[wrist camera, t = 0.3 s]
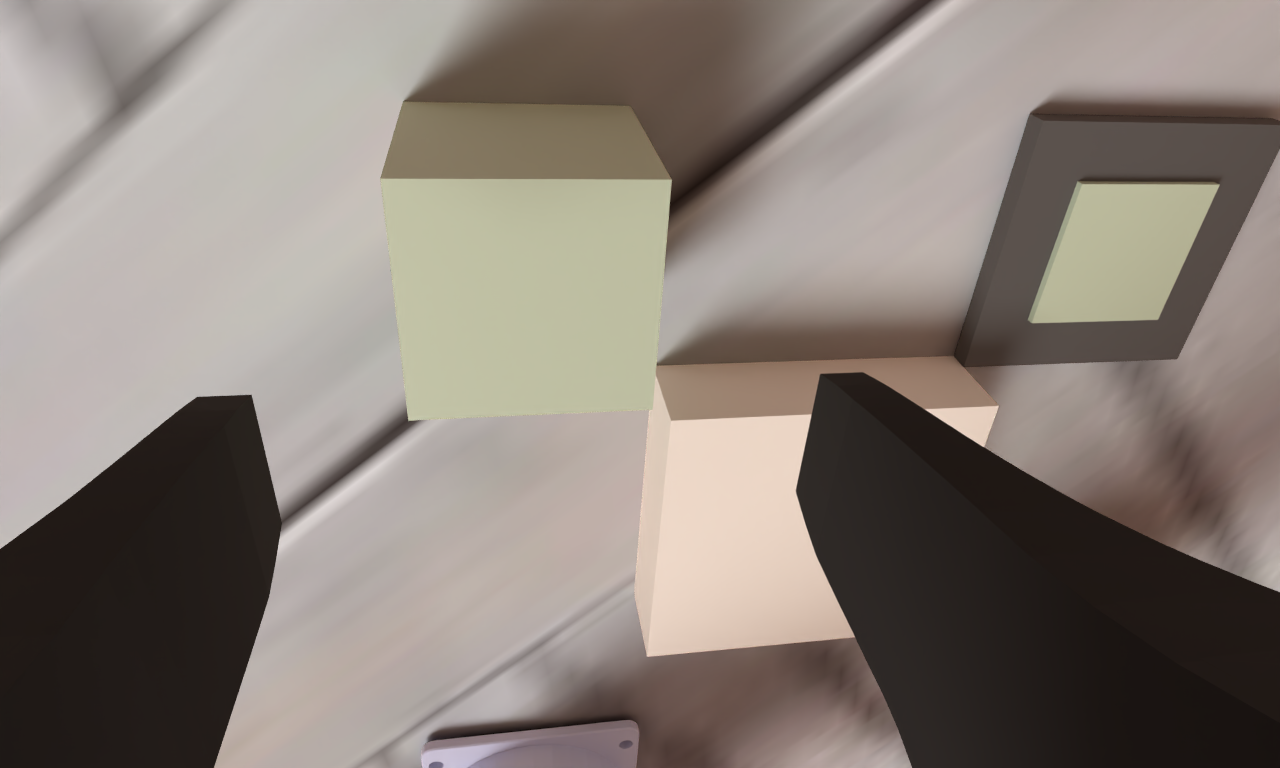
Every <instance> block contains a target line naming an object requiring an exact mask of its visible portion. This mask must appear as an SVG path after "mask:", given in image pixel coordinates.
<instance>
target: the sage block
mask: <svg viewBox="0 0 1280 768" xmlns="http://www.w3.org/2000/svg"><path fill="white" fill-rule="evenodd" d="M380 180H381V189H382V197H383V206H384V215H385V223H386V232H387V240H388V249H389V258H390V266H391V275H392V283H393V292H394V301H395V309H396V318H397V326H398V335H399V343H400V352H401V361H402V369H403V378H404V386H405V395H406V404H407V412H408V420H431V419H453V418H476V417H498V416H521V415H544V414H566V413H589V412H612V411H634V410H653V400H654V388H655V376H656V364H657V352H658V339H659V327H660V315H661V303H662V291H663V279H664V267H665V255H666V243H667V231H668V219H669V207H670V195H671V183H672V179H671V177H670V176H669V174H668V172H667V170H666V168H665V167H664V165H663V163H662V161H661V160H660V158H659V156H658V154H657V152H656V151H655V149H654V147H653V145H652V144H651V142H650V140H649V138H648V136H647V135H646V133H645V131H644V129H643V128H642V126H641V124H640V122H639V120H638V119H637V117H636V115H635V113H634V112H633V110H632V108H631V106H618V105H565V104H512V103H459V102H406V101H403V104H402V107H401V110H400V114H399V117H398V121H397V124H396V127H395V131H394V134H393V137H392V141H391V144H390V148H389V151H388V154H387V158H386V161H385V165H384V168H383V171H382V175H381V178H380Z"/></svg>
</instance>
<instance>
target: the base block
mask: <svg viewBox="0 0 1280 768" xmlns="http://www.w3.org/2000/svg"><path fill="white" fill-rule="evenodd" d="M854 372H863V373H865V374H867V375H869V376H871V377H873V378H875V379H877V380H878V381H880V382H882V383H884V384H885V385H887V386H889V387H890V388H892V389H894V390H895V391H897V392H898V393H900V394H901V395H903V396H905V397H906V398H908V399H909V400H911V401H913V402H914V403H916V404H917V405H919V406H920V407H922V408H923V409H925V410H926V411H928V412H930V413H931V414H933V415H934V416H936V417H937V418H939V419H940V420H942V421H943V422H945V423H947V424H948V425H950V426H951V427H953V428H954V429H956V430H957V431H959V432H961V433H962V434H964V435H965V436H967V437H968V438H970V439H972V440H973V441H975V442H976V443H978V444H979V445H981V446H983V447H984V446H985V443H986V441H987V438H988V435H989V432H990V430H991V427H992V424H993V421H994V419H995V416H996V413H997V410H998V408H999V405H998V404H997V403H996V402H995V401H994V400H993V399H992V398H991V396H990V395H989V394H988V393H987V392H986V391H985V390H984V389H983V388H982V387H981V386H980V384H979V383H978V382H977V381H976V380H975V379H974V378H973V377H972V376H971V375H970V374H969V373H968V371H967V370H966V369H965V368H964V367H963V366H962V365H961V364H960V363H959V362H958V361H957V359H956V358H955V357H954V356H936V357H905V358H875V359H844V360H813V361H783V362H752V363H722V364H691V365H660V366H656V376H655V388H654V400H653V410H649V419H648V431H647V443H646V455H645V467H644V480H643V492H642V504H641V516H640V528H639V540H638V552H637V564H636V577H635V589H634V595H635V600H636V605H637V610H638V615H639V620H640V625H641V630H642V635H643V639H644V644H645V649H646V654H647V657H651V656H662V655H672V654H683V653H694V652H704V651H715V650H725V649H736V648H747V647H757V646H768V645H778V644H789V643H800V642H810V641H821V640H831V639H842V638H853V637H855V636H854V634H853V632H852V630H851V628H850V626H849V624H848V622H847V620H846V617H845V615H844V613H843V611H842V609H841V607H840V605H839V603H838V601H837V599H836V597H835V595H834V593H833V591H832V588H831V586H830V584H829V582H828V580H827V578H826V576H825V574H824V572H823V569H822V567H821V565H820V563H819V561H818V559H817V556H816V554H815V551H814V548H813V545H812V542H811V539H810V536H809V533H808V530H807V528H806V524H805V521H804V518H803V514H802V511H801V508H800V504H799V501H798V498H797V495H796V486H797V482H798V477H799V472H800V467H801V463H802V458H803V453H804V448H805V444H806V439H807V434H808V429H809V424H810V420H811V415H812V410H813V405H814V401H815V396H816V391H817V386H818V382H819V377H820V374H827V373H854Z"/></svg>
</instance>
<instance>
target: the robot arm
mask: <svg viewBox="0 0 1280 768" xmlns="http://www.w3.org/2000/svg"><path fill="white" fill-rule="evenodd" d="M796 495H797V498H798V501H799V504H800V508H801V511H802V514H803V518H804V521H805V524H806V528H807V530H808V533H809V536H810V539H811V542H812V545H813V548H814V551H815V554H816V556H817V559H818V561H819V563H820V565H821V567H822V569H823V572H824V574H825V576H826V578H827V580H828V582H829V584H830V586H831V588H832V591H833V593H834V595H835V597H836V599H837V601H838V603H839V605H840V607H841V609H842V611H843V613H844V615H845V617H846V620H847V622H848V624H849V626H850V628H851V630H852V632H853V634H854V636H855V638H856V640H857V642H858V644H859V646H860V648H861V650H862V652H863V654H864V656H865V658H866V660H867V663H868V665H869V667H870V669H871V671H872V673H873V675H874V677H875V679H876V681H877V683H878V685H879V687H880V689H881V691H882V693H883V695H884V698H885V700H886V702H887V704H888V707H889V709H890V711H891V714H892V716H893V718H894V721H895V723H896V725H897V727H898V730H899V733H900V735H901V738H902V741H903V744H904V746H905V749H906V752H907V755H908V757H909V760H910V763H911V766H912V768H1280V592H1278V591H1275V590H1272V589H1270V588H1267V587H1264V586H1262V585H1259V584H1257V583H1254V582H1252V581H1249V580H1247V579H1244V578H1242V577H1240V576H1237V575H1235V574H1232V573H1230V572H1227V571H1225V570H1222V569H1220V568H1218V567H1215V566H1213V565H1210V564H1208V563H1205V562H1203V561H1200V560H1198V559H1196V558H1193V557H1191V556H1189V555H1186V554H1184V553H1182V552H1180V551H1177V550H1175V549H1173V548H1171V547H1168V546H1166V545H1164V544H1162V543H1159V542H1157V541H1155V540H1153V539H1151V538H1149V537H1147V536H1145V535H1143V534H1141V533H1139V532H1137V531H1135V530H1133V529H1130V528H1128V527H1126V526H1124V525H1122V524H1120V523H1118V522H1116V521H1114V520H1112V519H1110V518H1108V517H1106V516H1104V515H1102V514H1100V513H1098V512H1096V511H1094V510H1092V509H1090V508H1088V507H1086V506H1084V505H1082V504H1081V503H1079V502H1077V501H1075V500H1073V499H1071V498H1069V497H1068V496H1066V495H1064V494H1062V493H1061V492H1059V491H1057V490H1055V489H1053V488H1052V487H1050V486H1048V485H1046V484H1045V483H1043V482H1041V481H1039V480H1038V479H1036V478H1034V477H1032V476H1031V475H1029V474H1027V473H1025V472H1024V471H1022V470H1020V469H1019V468H1017V467H1015V466H1014V465H1012V464H1010V463H1009V462H1007V461H1005V460H1004V459H1002V458H1000V457H999V456H997V455H995V454H994V453H992V452H991V451H989V450H987V449H986V448H984V447H983V446H981V445H979V444H978V443H976V442H975V441H973V440H972V439H970V438H968V437H967V436H965V435H964V434H962V433H961V432H959V431H957V430H956V429H954V428H953V427H951V426H950V425H948V424H947V423H945V422H943V421H942V420H940V419H939V418H937V417H936V416H934V415H933V414H931V413H930V412H928V411H926V410H925V409H923V408H922V407H920V406H919V405H917V404H916V403H914V402H913V401H911V400H909V399H908V398H906V397H905V396H903V395H901V394H900V393H898V392H897V391H895V390H894V389H892V388H890V387H889V386H887V385H885V384H884V383H882V382H880V381H878V380H877V379H875V378H873V377H871V376H869V375H867V374H865V373H863V372H854V373H827V374H820V377H819V382H818V386H817V391H816V396H815V401H814V405H813V410H812V415H811V420H810V424H809V429H808V434H807V439H806V444H805V448H804V453H803V458H802V463H801V467H800V472H799V477H798V482H797V486H796ZM281 525H282V522H281V518H280V513H279V509H278V505H277V501H276V497H275V492H274V488H273V484H272V480H271V475H270V471H269V467H268V463H267V458H266V454H265V450H264V446H263V442H262V437H261V433H260V429H259V425H258V420H257V416H256V412H255V408H254V404H253V399H252V395H237V396H210V397H197V398H195V399H194V400H192V401H191V402H190V403H188V404H187V405H185V406H184V407H183V408H181V409H180V410H179V411H178V412H176V413H175V414H174V415H172V416H171V417H170V418H169V419H167V420H166V421H165V422H164V423H163V424H161V425H160V426H159V427H158V428H156V429H155V430H154V431H153V432H151V433H150V434H149V435H148V436H147V437H145V438H144V439H143V440H142V441H140V442H139V443H138V444H137V445H136V446H134V447H133V448H132V449H131V450H129V451H128V452H127V453H126V454H125V455H123V456H122V457H121V458H120V459H118V460H117V461H116V462H114V463H113V464H112V465H111V466H109V467H108V468H107V469H106V470H104V471H103V472H102V473H101V474H99V475H98V476H97V477H96V478H94V479H93V480H92V481H91V482H89V483H88V484H87V485H86V486H84V487H83V488H82V489H81V490H79V491H78V492H77V493H76V494H74V495H73V496H72V497H71V498H69V499H68V500H67V501H65V502H64V503H63V504H61V505H60V506H59V507H57V508H56V509H54V510H53V511H52V512H50V513H49V514H48V515H46V516H45V517H44V518H42V519H41V520H39V521H38V522H37V523H35V524H34V525H33V526H31V527H30V528H28V529H27V530H26V531H24V532H23V533H22V534H20V535H19V536H17V537H16V538H15V539H13V540H12V541H11V542H9V543H8V544H7V545H5V546H4V547H2V548H1V549H0V768H214V765H215V762H216V759H217V756H218V753H219V750H220V747H221V744H222V741H223V738H224V735H225V732H226V729H227V726H228V723H229V719H230V716H231V713H232V710H233V707H234V704H235V701H236V698H237V695H238V692H239V689H240V686H241V683H242V680H243V677H244V674H245V671H246V667H247V664H248V661H249V658H250V655H251V652H252V649H253V646H254V643H255V639H256V636H257V633H258V630H259V627H260V624H261V621H262V618H263V614H264V611H265V608H266V605H267V601H268V598H269V594H270V589H271V583H272V578H273V573H274V567H275V562H276V556H277V550H278V543H279V537H280V531H281ZM638 744H639V729H638V724H637V723H636V722H634V721H632V720H621V721H611V722H602V723H592V724H583V725H574V726H564V727H555V728H546V729H536V730H527V731H518V732H508V733H499V734H489V735H480V736H471V737H461V738H452V739H443V740H434V741H430V742H428V743H426V744H425V745H424V746H423V747H422V751H421V761H422V768H636V764H637V754H638Z"/></svg>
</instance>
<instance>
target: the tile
mask: <svg viewBox="0 0 1280 768" xmlns="http://www.w3.org/2000/svg"><path fill="white" fill-rule="evenodd" d="M1279 149H1280V121H1278V120H1275V119H1266V118H1214V117H1161V116H1109V115H1057V114H1030V115H1029V118H1028V121H1027V124H1026V128H1025V131H1024V134H1023V137H1022V140H1021V144H1020V147H1019V150H1018V153H1017V156H1016V160H1015V163H1014V166H1013V169H1012V172H1011V176H1010V179H1009V182H1008V185H1007V188H1006V192H1005V195H1004V198H1003V201H1002V204H1001V208H1000V211H999V214H998V217H997V220H996V224H995V227H994V230H993V233H992V236H991V239H990V243H989V246H988V249H987V252H986V255H985V259H984V262H983V265H982V268H981V271H980V275H979V278H978V281H977V284H976V287H975V291H974V294H973V297H972V300H971V303H970V307H969V310H968V313H967V316H966V319H965V323H964V326H963V329H962V332H961V335H960V339H959V342H958V345H957V348H956V351H955V355H954V357H955V358H956V359H957V360H958V361H959V362H960V363H961V364H962V366H963V367H978V366H1005V365H1032V364H1059V363H1087V362H1114V361H1141V360H1168V359H1177V358H1178V356H1179V354H1180V352H1181V350H1182V348H1183V346H1184V344H1185V342H1186V340H1187V338H1188V336H1189V334H1190V332H1191V330H1192V328H1193V325H1194V323H1195V321H1196V319H1197V317H1198V315H1199V313H1200V311H1201V309H1202V307H1203V305H1204V303H1205V301H1206V299H1207V297H1208V295H1209V293H1210V291H1211V289H1212V286H1213V284H1214V282H1215V280H1216V278H1217V276H1218V274H1219V272H1220V270H1221V268H1222V266H1223V264H1224V262H1225V260H1226V258H1227V256H1228V254H1229V252H1230V250H1231V247H1232V245H1233V243H1234V241H1235V239H1236V237H1237V235H1238V233H1239V231H1240V229H1241V227H1242V225H1243V223H1244V221H1245V219H1246V217H1247V215H1248V213H1249V211H1250V208H1251V206H1252V204H1253V202H1254V200H1255V198H1256V196H1257V194H1258V192H1259V190H1260V188H1261V186H1262V184H1263V182H1264V180H1265V178H1266V176H1267V174H1268V172H1269V169H1270V167H1271V165H1272V163H1273V161H1274V159H1275V157H1276V155H1277V153H1278V151H1279Z"/></svg>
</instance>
